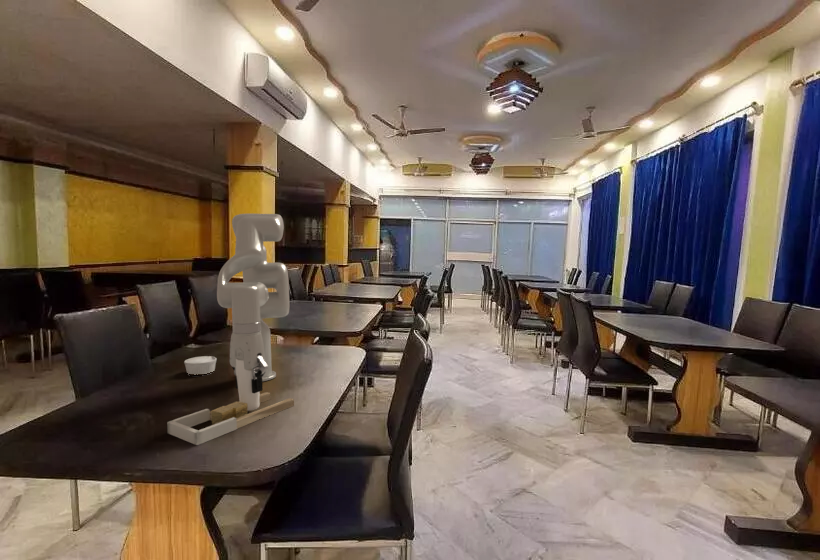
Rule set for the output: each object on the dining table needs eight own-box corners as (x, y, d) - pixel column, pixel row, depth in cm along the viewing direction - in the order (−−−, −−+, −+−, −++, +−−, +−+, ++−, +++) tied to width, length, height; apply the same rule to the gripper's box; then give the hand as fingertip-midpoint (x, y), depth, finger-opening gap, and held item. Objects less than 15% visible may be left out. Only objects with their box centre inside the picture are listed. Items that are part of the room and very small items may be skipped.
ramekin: (219, 373, 166) (219, 360, 166) (187, 378, 160) (186, 364, 160) (214, 367, 176) (213, 354, 175) (183, 372, 169) (182, 358, 169)
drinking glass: (267, 405, 128) (265, 355, 126) (251, 414, 121) (250, 361, 120) (248, 402, 130) (246, 353, 129) (232, 411, 123) (230, 359, 122)
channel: (208, 419, 121) (207, 412, 121) (266, 398, 138) (266, 392, 138) (236, 429, 114) (235, 421, 114) (294, 405, 131) (293, 399, 131)
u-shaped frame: (167, 433, 112) (167, 421, 112) (207, 419, 121) (206, 408, 121) (197, 445, 105) (196, 433, 105) (236, 429, 114) (236, 418, 114)
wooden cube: (225, 420, 121) (225, 406, 120) (237, 415, 124) (236, 401, 124) (236, 422, 119) (235, 408, 119) (247, 417, 122) (247, 403, 122)
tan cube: (212, 425, 117) (211, 410, 117) (224, 419, 121) (223, 405, 121) (222, 427, 116) (221, 412, 115) (234, 422, 119) (234, 407, 119)
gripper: (216, 327, 125) (219, 388, 127) (255, 333, 116) (258, 399, 117) (239, 323, 131) (241, 381, 133) (277, 329, 122) (279, 391, 124)
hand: (249, 389), depth 125 cm, fingers closed on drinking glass, 6 cm apart
